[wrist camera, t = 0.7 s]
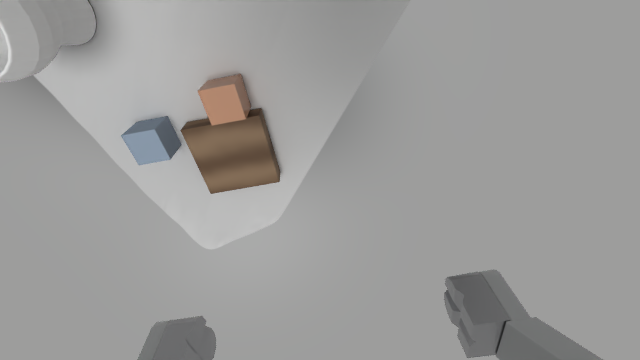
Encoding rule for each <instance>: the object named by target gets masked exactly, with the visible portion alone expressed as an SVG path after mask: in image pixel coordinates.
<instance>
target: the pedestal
mask: <svg viewBox="0 0 640 360" xmlns="http://www.w3.org/2000/svg"><path fill="white" fill-rule="evenodd" d="M181 132H182V134H183V136H184V139H185V141H186V143H187V145H188V147H189V149H190V151H191V153H192V155H193V157H194V159H195V162H196V164H197V166H198V168H199V170H200V172H201V174H202V176H203V178H204V180H205V183H206V185H207V187H208V189H209V191H210V193H211V194H213V193H218V192H224V191H230V190H236V189H241V188H247V187H253V186H259V185H264V184H270V183H276V182H279V181H280V169H279V166H278V162H277V159H276V156H275V152H274V149H273V146H272V142H271V139H270V136H269V132H268V129H267V125H266V122H265V119H264V115H263V112H262V109H261V108H260V109H254V110H250V111H249V113H248V116H247V118H246V119H244V120H239V121H234V122H228V123H223V124H218V125H211V122H210V120H209V118H207V119H202V120H196V121H191V122H187V123H186V124H185V125H184V127H183V128H182V129H181Z"/></svg>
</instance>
